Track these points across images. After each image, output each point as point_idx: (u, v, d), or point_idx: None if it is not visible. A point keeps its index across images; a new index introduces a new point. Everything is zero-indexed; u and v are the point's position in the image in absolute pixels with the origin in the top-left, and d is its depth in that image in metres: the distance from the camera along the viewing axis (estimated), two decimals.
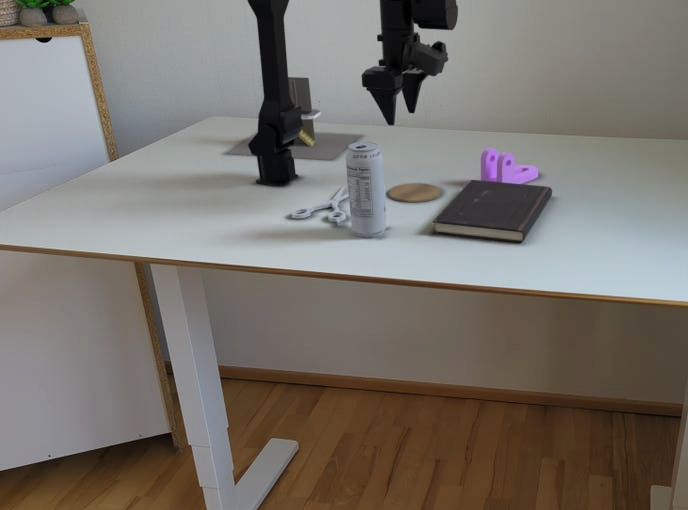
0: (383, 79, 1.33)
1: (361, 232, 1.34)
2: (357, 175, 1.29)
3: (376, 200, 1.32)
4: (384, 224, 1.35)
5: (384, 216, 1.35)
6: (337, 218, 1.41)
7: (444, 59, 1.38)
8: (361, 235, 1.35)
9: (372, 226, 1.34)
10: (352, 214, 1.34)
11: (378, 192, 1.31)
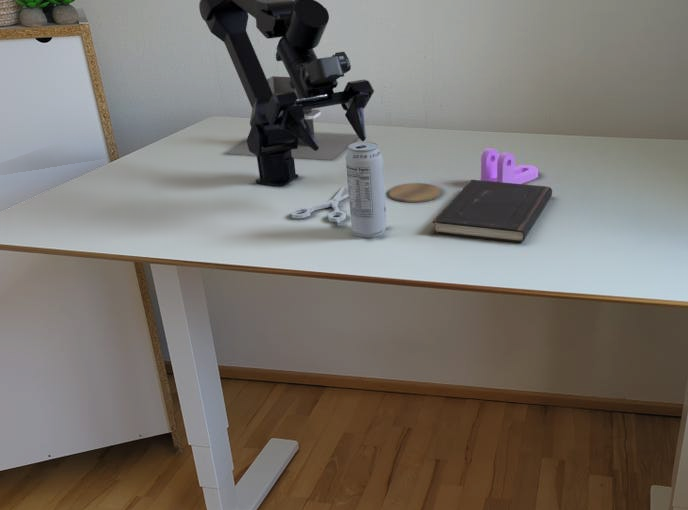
0: (271, 104, 1.30)
1: (361, 232, 1.34)
2: (357, 175, 1.29)
3: (376, 200, 1.32)
4: (384, 224, 1.35)
5: (384, 216, 1.35)
6: (337, 218, 1.41)
7: (332, 59, 1.30)
8: (361, 235, 1.35)
9: (372, 226, 1.34)
10: (352, 214, 1.34)
11: (378, 192, 1.31)
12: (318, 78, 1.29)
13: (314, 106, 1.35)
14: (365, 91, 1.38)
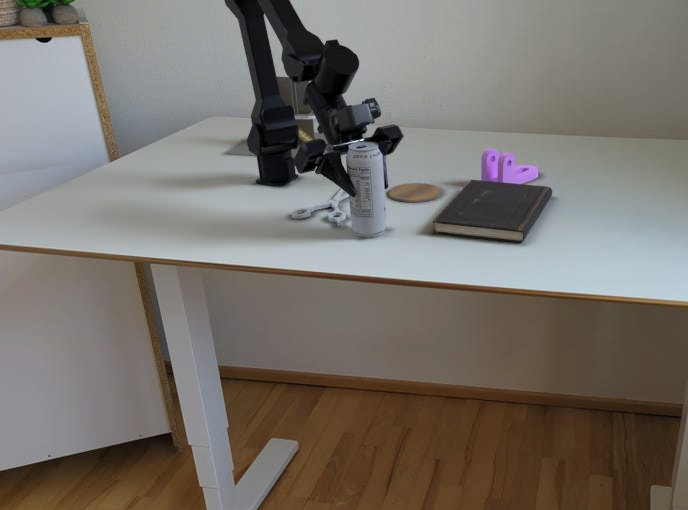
0: (300, 152, 1.27)
1: (361, 232, 1.34)
2: (358, 175, 1.29)
3: (377, 200, 1.32)
4: (384, 224, 1.35)
5: (384, 216, 1.35)
6: (337, 218, 1.41)
7: (363, 106, 1.27)
8: (361, 235, 1.35)
9: (372, 226, 1.34)
10: (352, 214, 1.34)
11: (378, 192, 1.31)
12: (348, 126, 1.26)
13: (343, 153, 1.32)
14: (395, 136, 1.35)
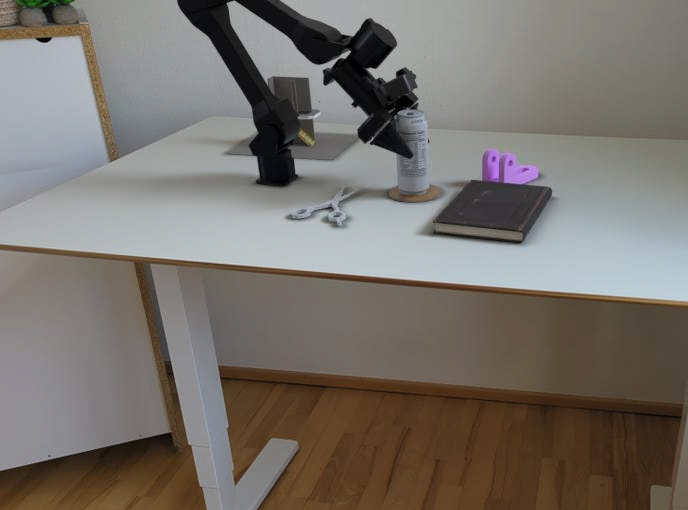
0: (372, 122, 1.39)
1: (417, 190, 1.51)
2: (416, 138, 1.46)
3: (427, 159, 1.50)
4: None
5: None
6: (337, 218, 1.41)
7: (410, 74, 1.43)
8: (415, 194, 1.52)
9: (425, 183, 1.51)
10: (406, 176, 1.50)
11: None
12: (406, 92, 1.42)
13: None
14: (415, 100, 1.53)
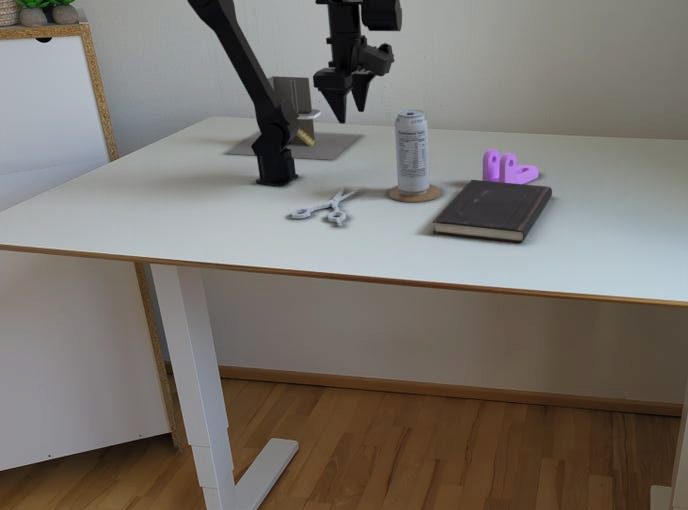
0: (334, 80, 1.41)
1: (417, 190, 1.51)
2: (416, 138, 1.46)
3: (427, 159, 1.50)
4: None
5: None
6: (337, 218, 1.41)
7: (390, 60, 1.46)
8: (415, 194, 1.52)
9: (425, 183, 1.51)
10: (406, 176, 1.50)
11: None
12: (377, 74, 1.45)
13: None
14: None
